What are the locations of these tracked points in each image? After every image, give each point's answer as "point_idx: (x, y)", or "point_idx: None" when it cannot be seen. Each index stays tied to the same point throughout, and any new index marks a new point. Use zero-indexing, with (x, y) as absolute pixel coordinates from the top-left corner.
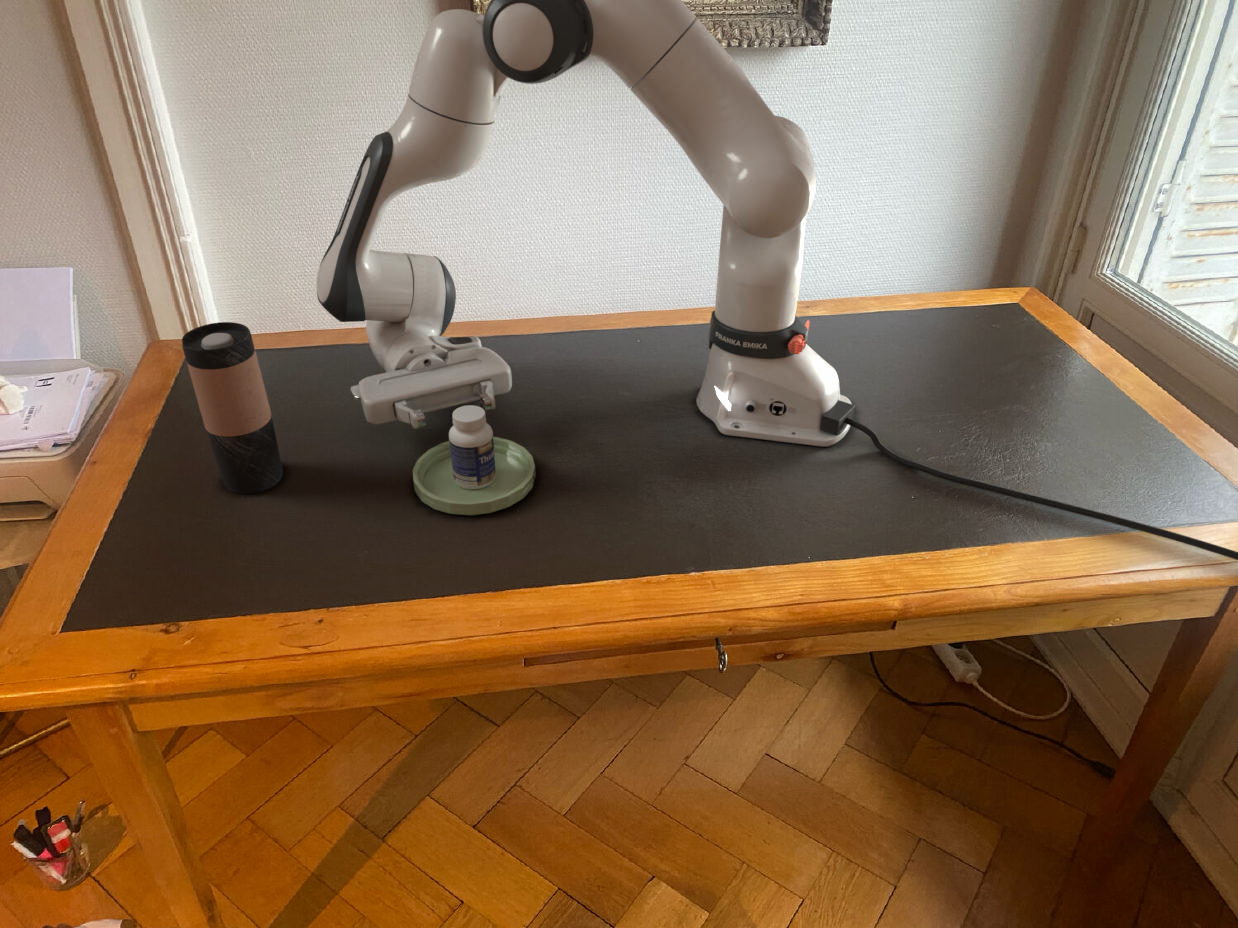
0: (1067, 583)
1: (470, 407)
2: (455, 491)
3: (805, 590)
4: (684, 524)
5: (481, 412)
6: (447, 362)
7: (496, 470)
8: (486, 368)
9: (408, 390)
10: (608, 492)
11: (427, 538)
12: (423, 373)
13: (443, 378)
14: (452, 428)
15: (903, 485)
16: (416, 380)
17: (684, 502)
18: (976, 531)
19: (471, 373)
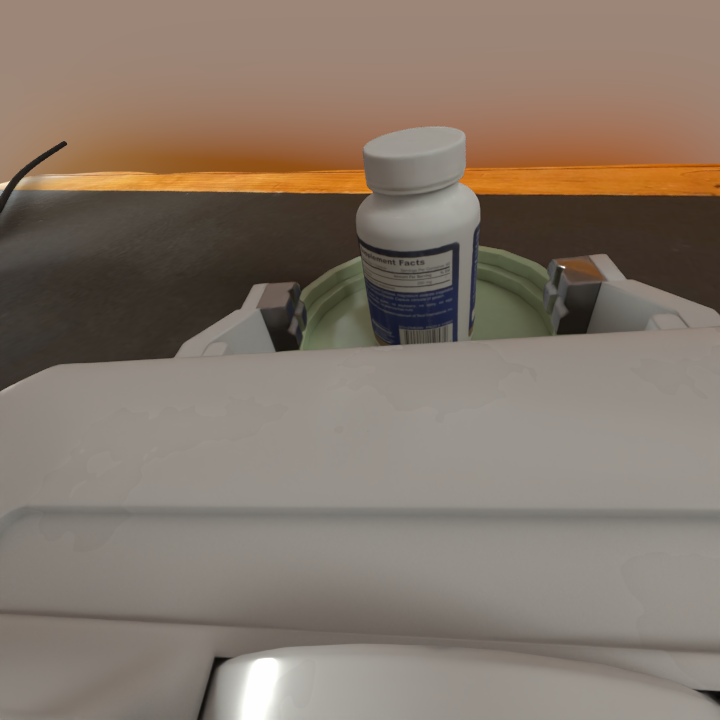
0: (103, 173)
1: (394, 151)
2: (477, 316)
3: (226, 178)
4: (225, 225)
5: (376, 141)
6: (196, 665)
7: (365, 344)
8: (90, 409)
9: (658, 347)
10: (242, 271)
11: (553, 253)
12: (513, 597)
13: (380, 400)
14: (465, 200)
15: (21, 229)
16: (597, 449)
17: (188, 244)
18: (70, 197)
19: (199, 391)
